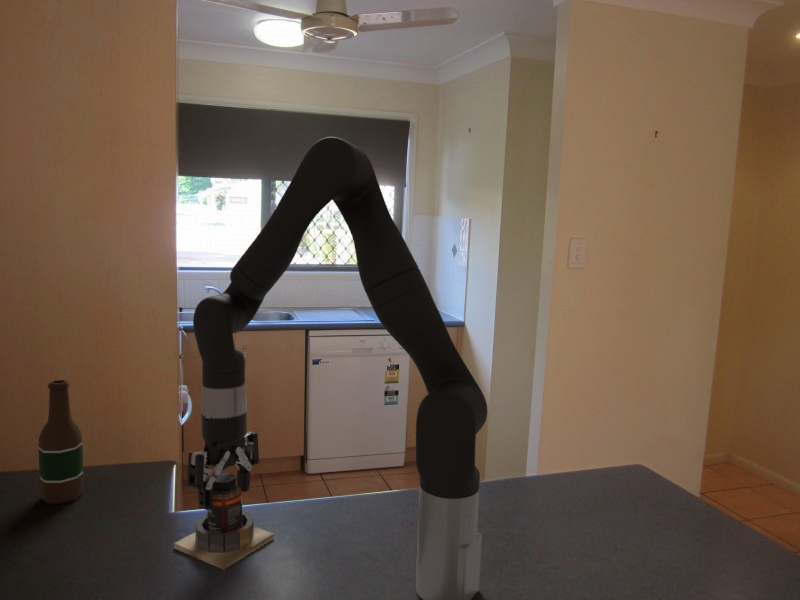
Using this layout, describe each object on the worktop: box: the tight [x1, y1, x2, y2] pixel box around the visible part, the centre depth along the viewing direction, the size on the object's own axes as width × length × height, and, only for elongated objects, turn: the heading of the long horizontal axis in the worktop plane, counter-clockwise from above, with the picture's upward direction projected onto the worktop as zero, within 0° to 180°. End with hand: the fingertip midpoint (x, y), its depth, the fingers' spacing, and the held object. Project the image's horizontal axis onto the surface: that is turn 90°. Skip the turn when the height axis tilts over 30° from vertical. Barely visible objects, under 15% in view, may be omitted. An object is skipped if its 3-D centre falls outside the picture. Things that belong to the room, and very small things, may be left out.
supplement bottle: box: [206, 472, 243, 533], centre depth 108 cm, size 6×6×11 cm
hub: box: [173, 510, 275, 571], centre depth 108 cm, size 12×12×4 cm
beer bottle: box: [38, 379, 85, 505], centre depth 123 cm, size 8×8×24 cm
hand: (225, 499), depth 107 cm, fingers open, 8 cm apart
